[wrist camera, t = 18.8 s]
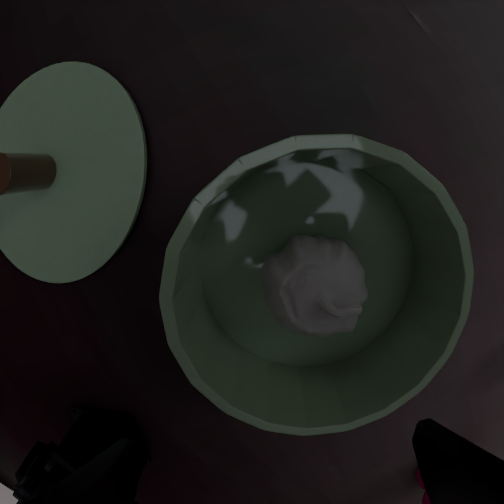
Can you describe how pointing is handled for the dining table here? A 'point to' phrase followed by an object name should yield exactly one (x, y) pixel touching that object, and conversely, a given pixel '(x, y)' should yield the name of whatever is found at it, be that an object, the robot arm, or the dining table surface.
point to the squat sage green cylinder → (331, 226)
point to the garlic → (315, 285)
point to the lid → (69, 171)
